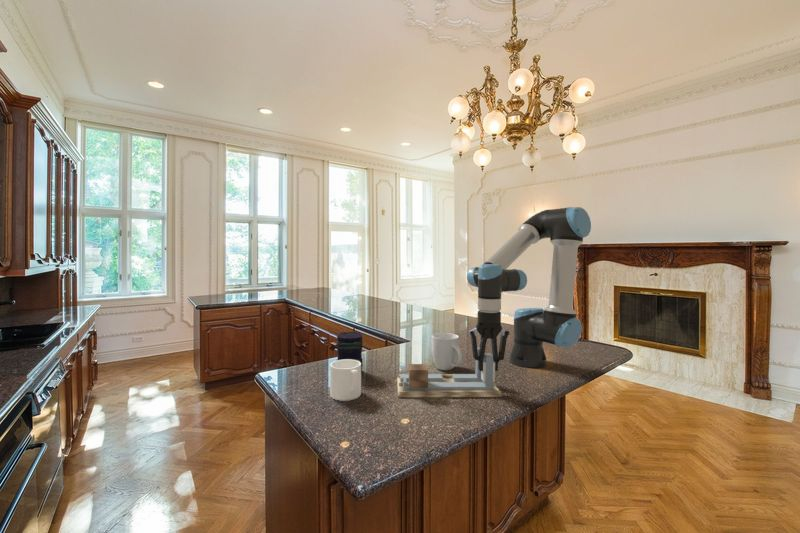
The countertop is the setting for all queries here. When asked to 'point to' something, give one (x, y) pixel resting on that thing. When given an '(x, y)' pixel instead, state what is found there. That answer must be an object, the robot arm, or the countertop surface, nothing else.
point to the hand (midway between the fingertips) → (487, 380)
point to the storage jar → (350, 346)
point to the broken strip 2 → (469, 377)
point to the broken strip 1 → (430, 377)
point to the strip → (460, 385)
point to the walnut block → (418, 376)
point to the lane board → (447, 378)
